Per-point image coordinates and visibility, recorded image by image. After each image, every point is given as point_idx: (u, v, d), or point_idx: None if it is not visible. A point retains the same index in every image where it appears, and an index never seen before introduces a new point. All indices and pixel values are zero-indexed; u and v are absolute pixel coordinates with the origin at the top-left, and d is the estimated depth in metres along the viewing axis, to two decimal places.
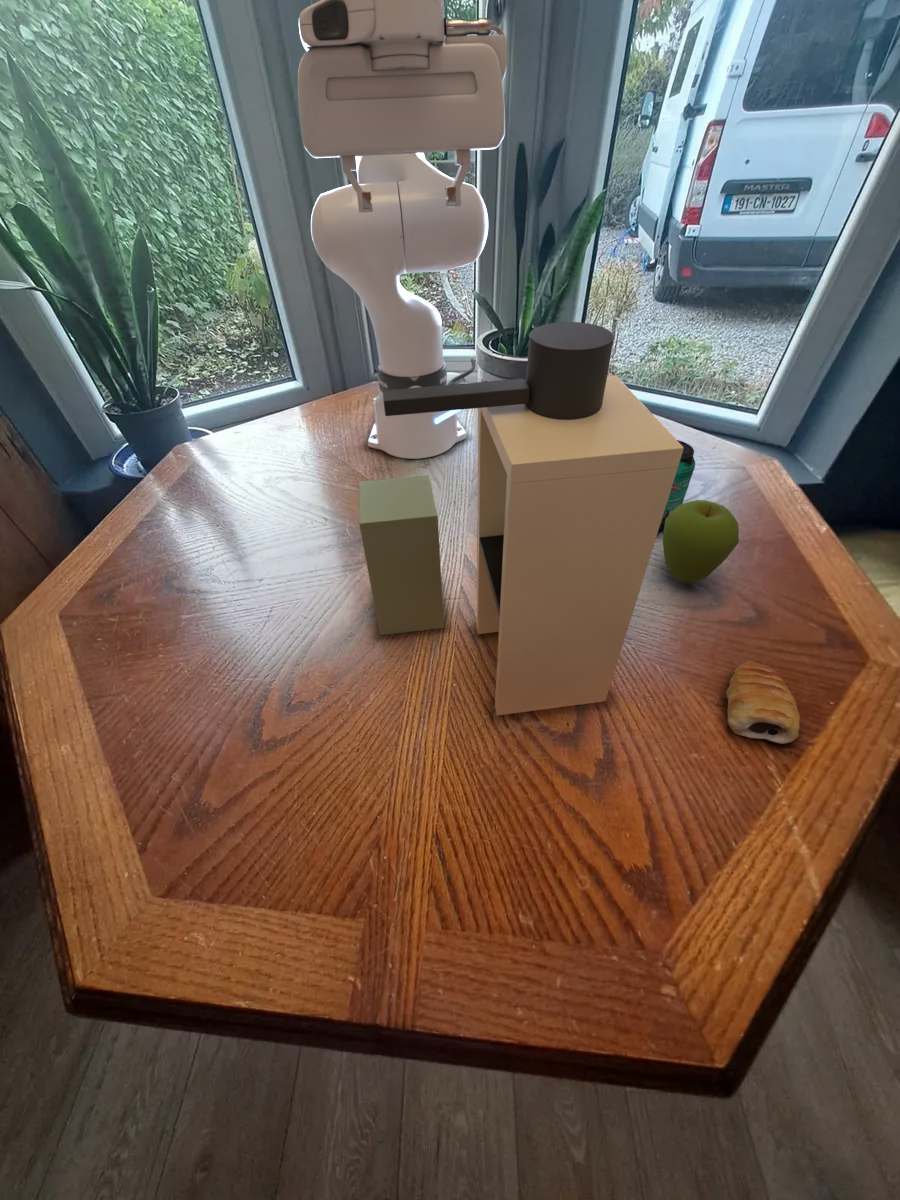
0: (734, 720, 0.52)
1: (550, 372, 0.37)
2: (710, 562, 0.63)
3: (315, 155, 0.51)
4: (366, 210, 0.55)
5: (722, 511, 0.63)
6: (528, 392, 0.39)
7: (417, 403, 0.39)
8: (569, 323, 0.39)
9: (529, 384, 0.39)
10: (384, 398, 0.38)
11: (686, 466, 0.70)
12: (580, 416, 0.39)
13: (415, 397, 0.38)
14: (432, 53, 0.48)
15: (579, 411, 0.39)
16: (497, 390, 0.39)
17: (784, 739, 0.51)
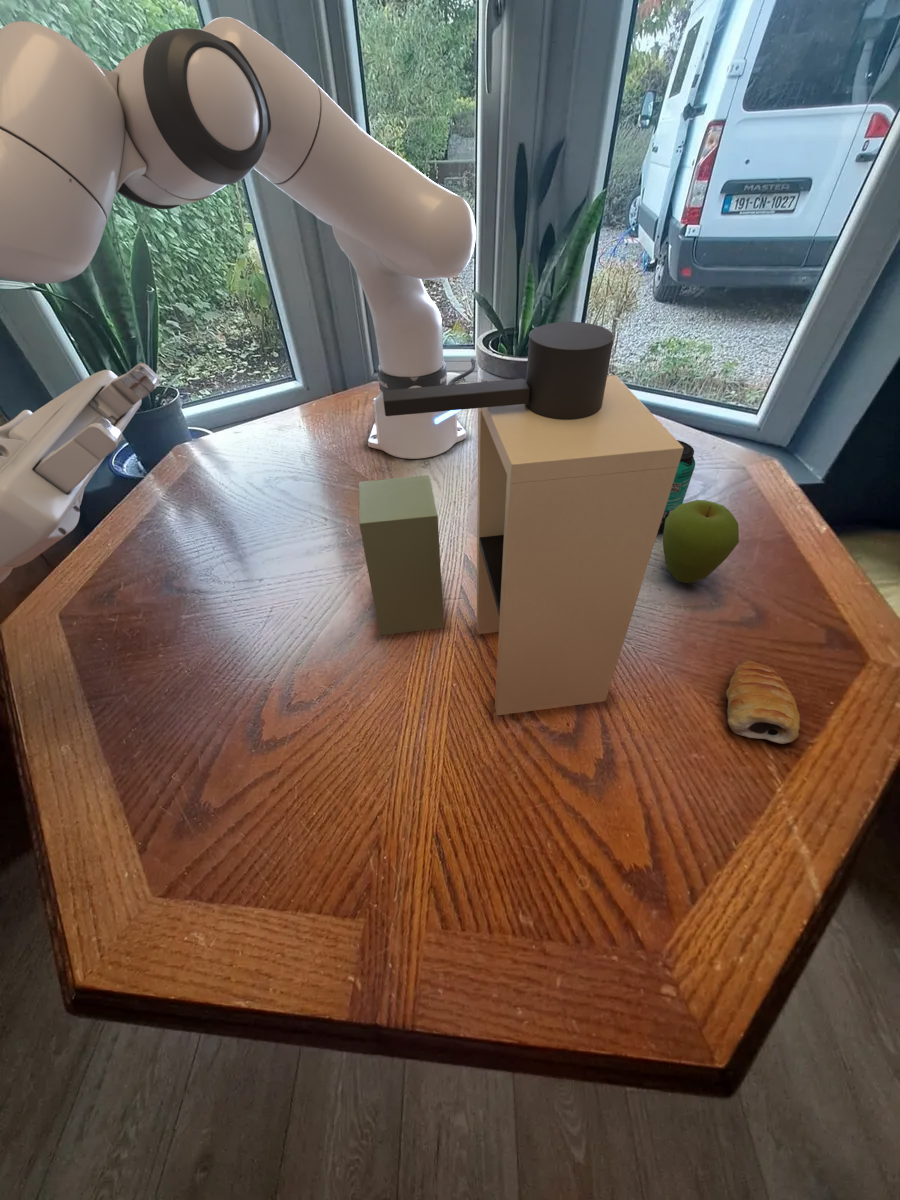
0: (734, 720, 0.52)
1: (550, 372, 0.37)
2: (710, 562, 0.63)
3: None
4: (157, 383, 0.40)
5: (722, 511, 0.63)
6: (528, 392, 0.39)
7: (417, 403, 0.39)
8: (569, 323, 0.39)
9: (529, 384, 0.39)
10: (384, 398, 0.38)
11: (686, 466, 0.70)
12: (580, 416, 0.39)
13: (415, 397, 0.38)
14: None
15: (578, 411, 0.39)
16: (497, 390, 0.39)
17: (784, 739, 0.51)
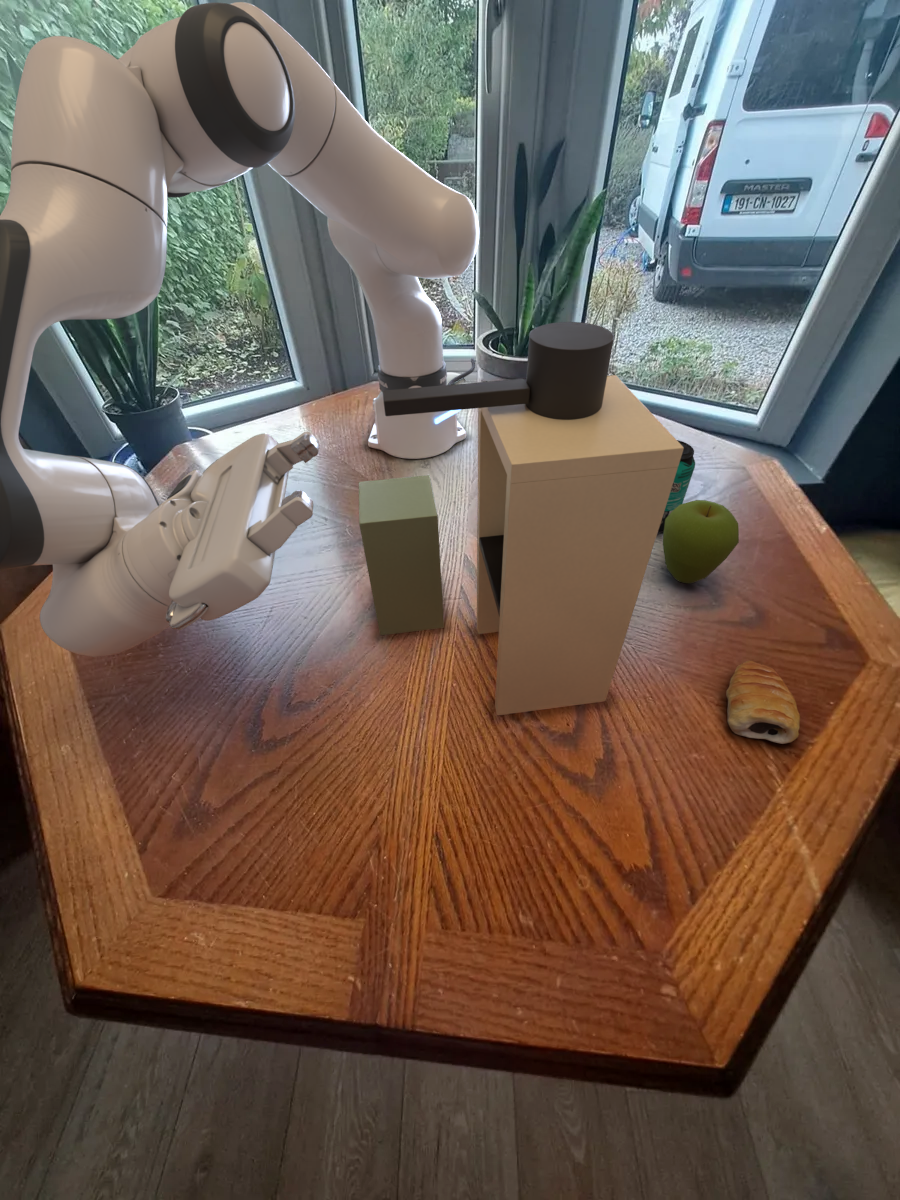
0: (734, 720, 0.52)
1: (550, 372, 0.37)
2: (710, 562, 0.63)
3: None
4: (318, 448, 0.46)
5: (722, 511, 0.63)
6: (528, 392, 0.39)
7: (417, 403, 0.39)
8: (569, 323, 0.39)
9: (529, 384, 0.39)
10: (384, 398, 0.38)
11: (686, 466, 0.70)
12: (580, 416, 0.39)
13: (415, 397, 0.38)
14: None
15: (578, 411, 0.39)
16: (497, 390, 0.39)
17: (784, 739, 0.51)
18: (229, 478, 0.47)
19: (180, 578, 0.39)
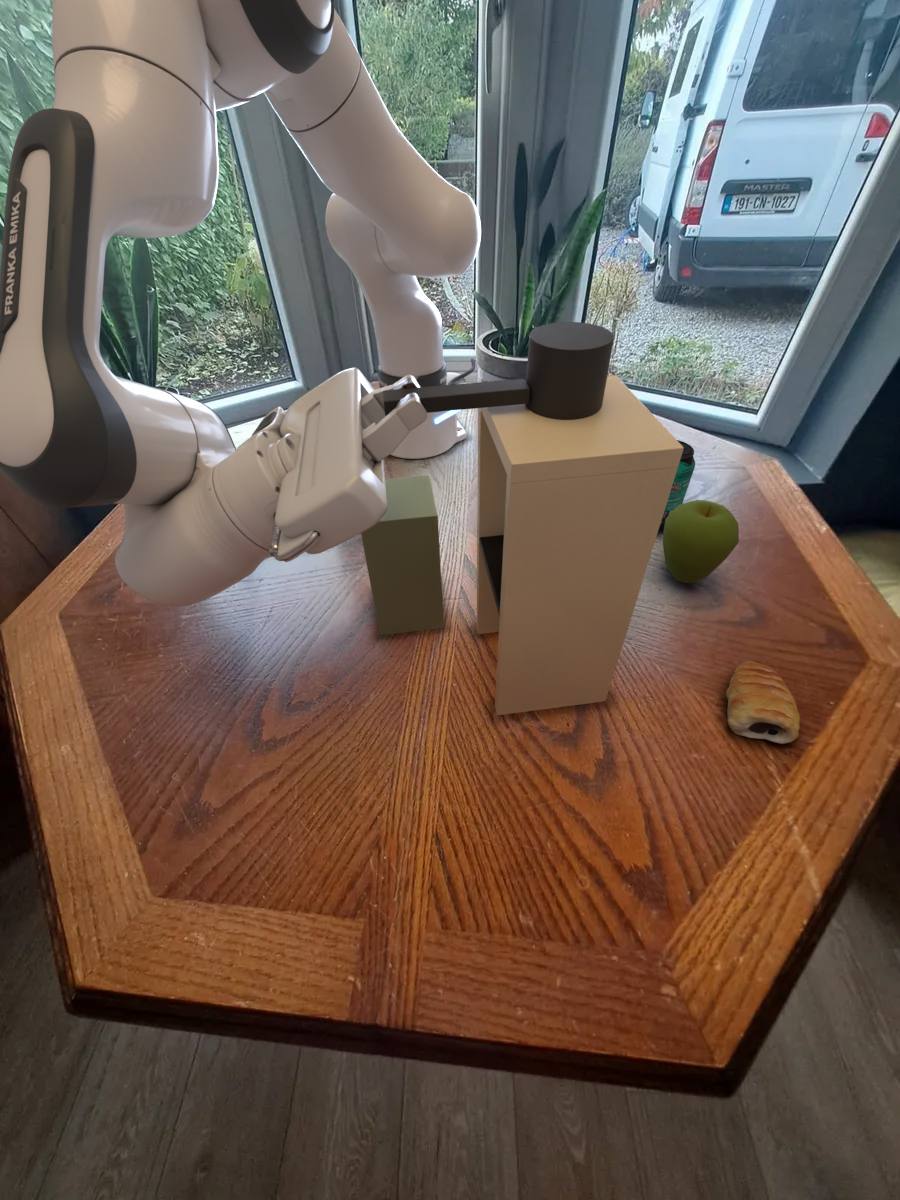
0: (734, 720, 0.52)
1: (550, 373, 0.37)
2: (710, 562, 0.63)
3: None
4: None
5: (722, 511, 0.63)
6: (528, 392, 0.39)
7: None
8: (569, 323, 0.39)
9: (529, 384, 0.39)
10: (384, 398, 0.38)
11: (686, 466, 0.70)
12: (580, 416, 0.39)
13: None
14: None
15: (578, 411, 0.39)
16: (497, 390, 0.39)
17: (784, 739, 0.51)
18: (321, 412, 0.43)
19: (288, 505, 0.36)
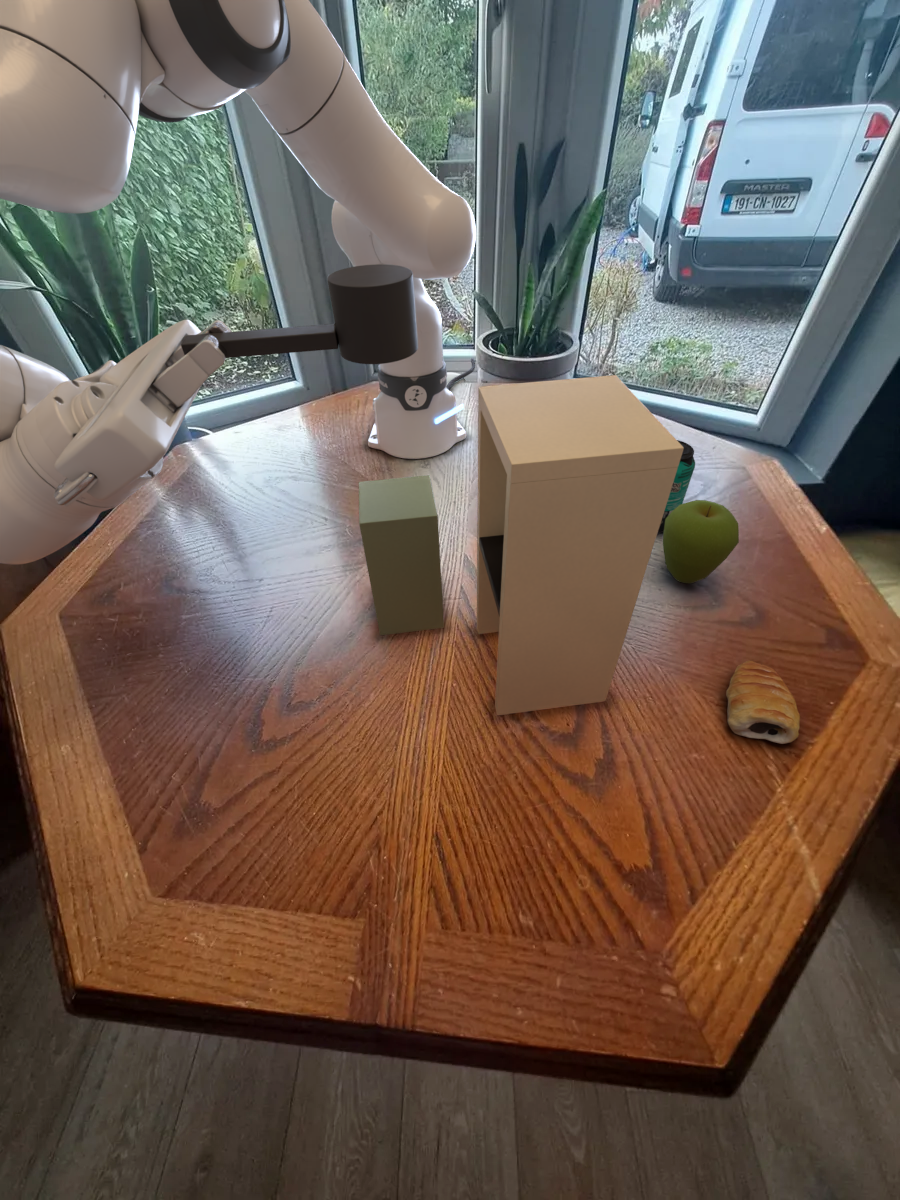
0: (734, 720, 0.52)
1: (345, 313, 0.36)
2: (710, 562, 0.63)
3: None
4: None
5: (722, 511, 0.63)
6: (334, 336, 0.38)
7: None
8: (377, 265, 0.38)
9: (335, 328, 0.38)
10: (183, 342, 0.37)
11: (686, 466, 0.70)
12: (386, 360, 0.38)
13: None
14: None
15: (383, 355, 0.37)
16: (301, 334, 0.38)
17: (784, 739, 0.51)
18: (142, 362, 0.42)
19: (67, 447, 0.35)
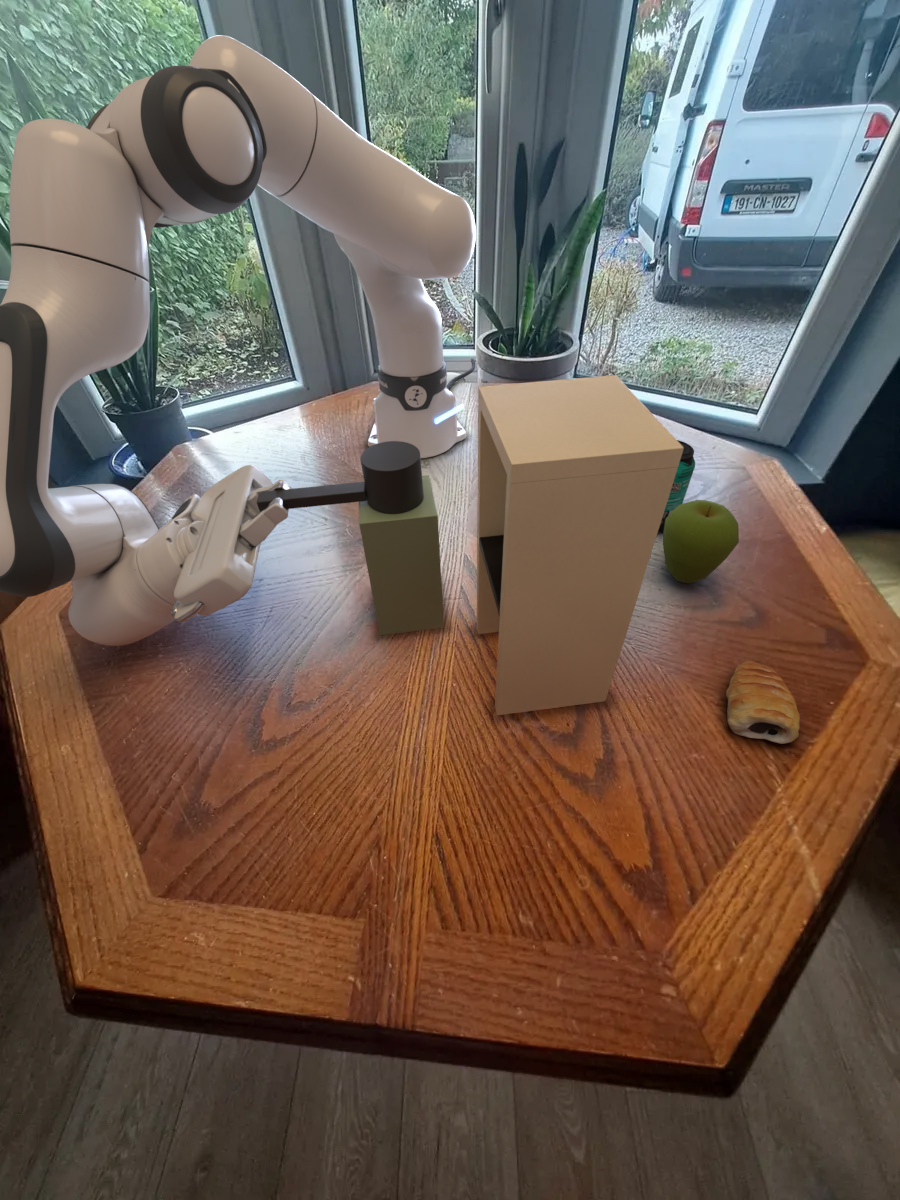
0: (734, 720, 0.52)
1: (373, 484, 0.51)
2: (710, 562, 0.63)
3: None
4: None
5: (722, 511, 0.63)
6: (364, 494, 0.53)
7: None
8: (394, 443, 0.54)
9: (365, 487, 0.54)
10: (257, 499, 0.53)
11: (686, 466, 0.70)
12: (401, 511, 0.53)
13: (280, 498, 0.53)
14: None
15: (399, 508, 0.53)
16: (341, 493, 0.53)
17: (784, 739, 0.51)
18: (222, 502, 0.58)
19: (182, 582, 0.50)
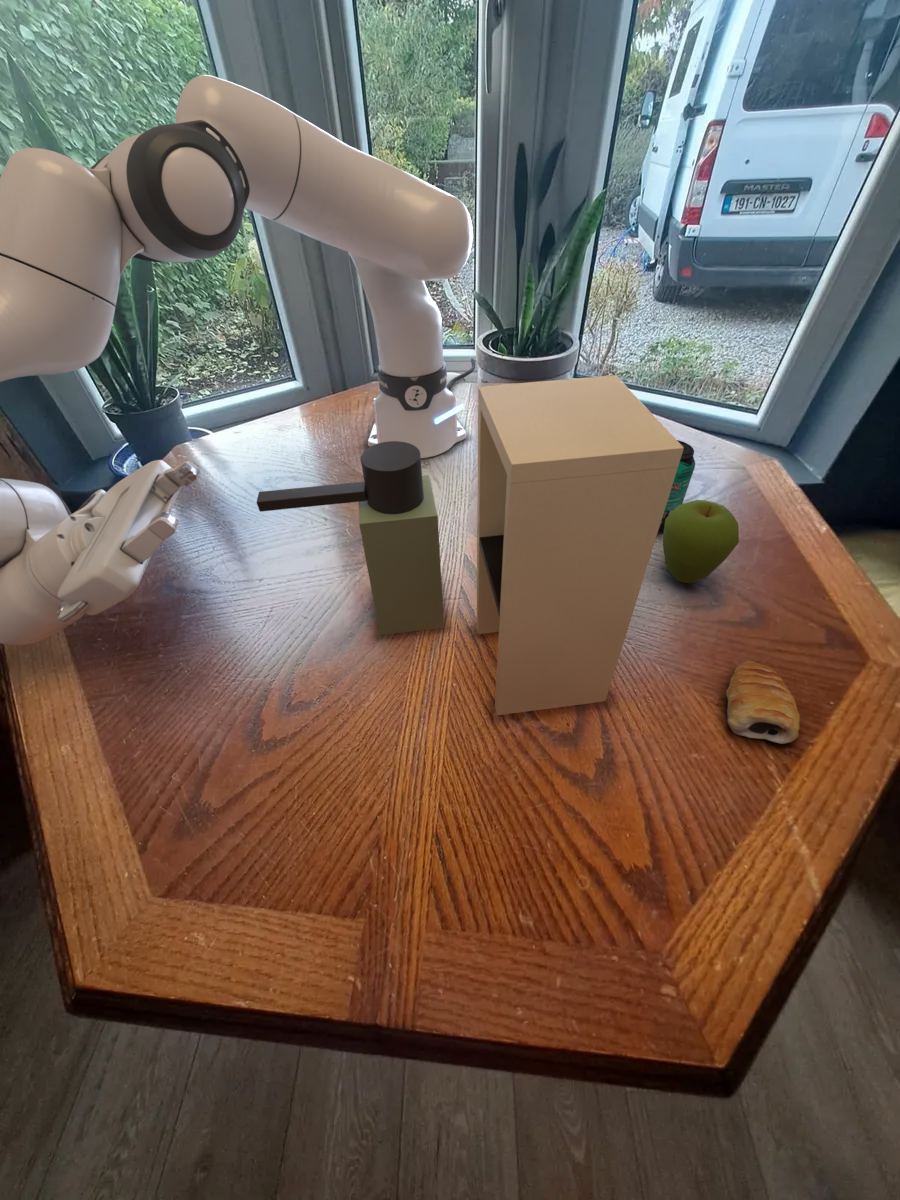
0: (734, 720, 0.52)
1: (373, 484, 0.51)
2: (710, 562, 0.63)
3: None
4: (197, 474, 0.56)
5: (722, 511, 0.63)
6: (364, 494, 0.53)
7: (282, 503, 0.53)
8: (394, 443, 0.54)
9: (365, 487, 0.54)
10: (257, 499, 0.53)
11: (686, 466, 0.70)
12: (401, 511, 0.53)
13: (280, 498, 0.53)
14: None
15: (399, 508, 0.53)
16: (341, 493, 0.53)
17: (784, 739, 0.51)
18: (124, 498, 0.56)
19: (67, 580, 0.48)
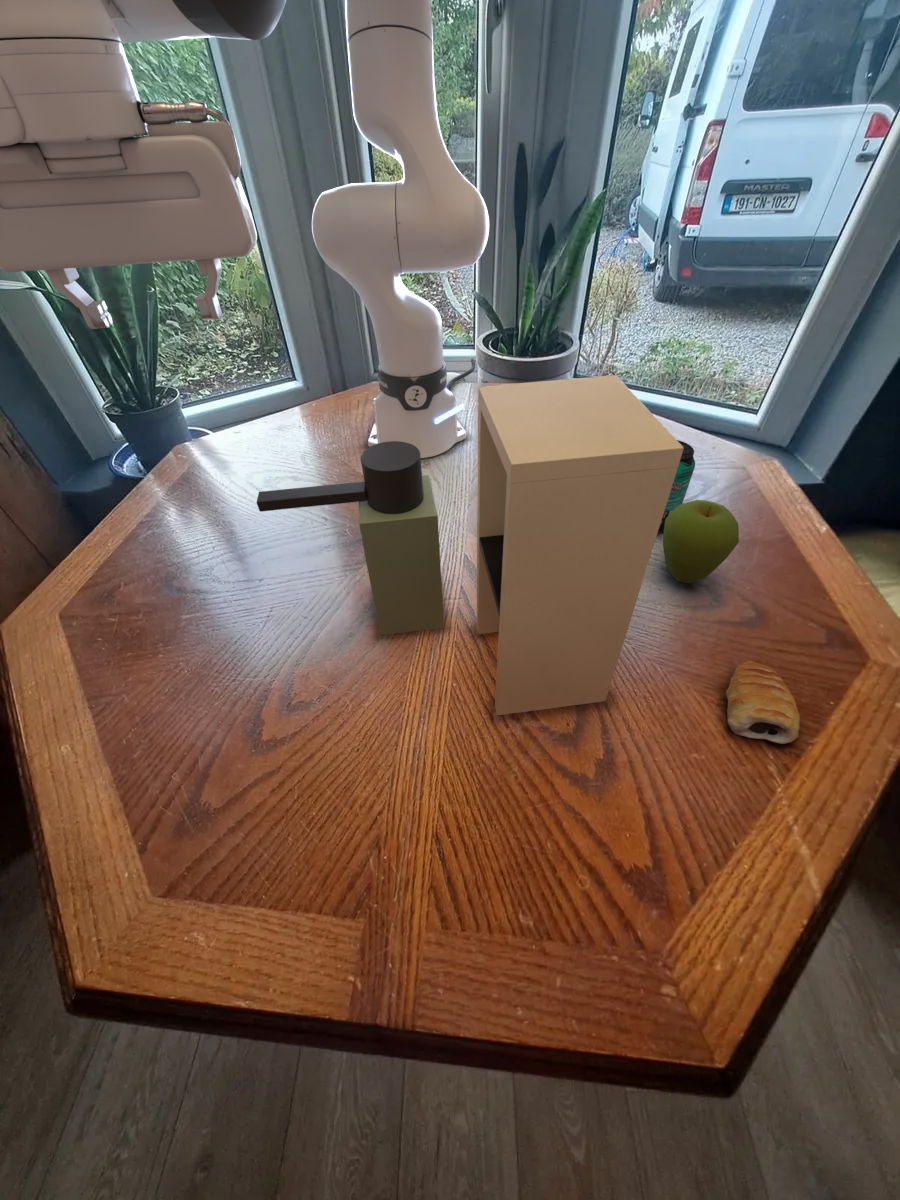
0: (734, 720, 0.52)
1: (373, 484, 0.51)
2: (710, 562, 0.63)
3: (7, 271, 0.41)
4: (98, 327, 0.45)
5: (722, 511, 0.63)
6: (364, 494, 0.53)
7: (282, 503, 0.53)
8: (394, 443, 0.54)
9: (365, 487, 0.54)
10: (257, 499, 0.53)
11: (686, 466, 0.70)
12: (401, 511, 0.53)
13: (280, 498, 0.53)
14: (126, 151, 0.37)
15: (399, 508, 0.53)
16: (341, 493, 0.53)
17: (784, 739, 0.51)
18: None
19: None
